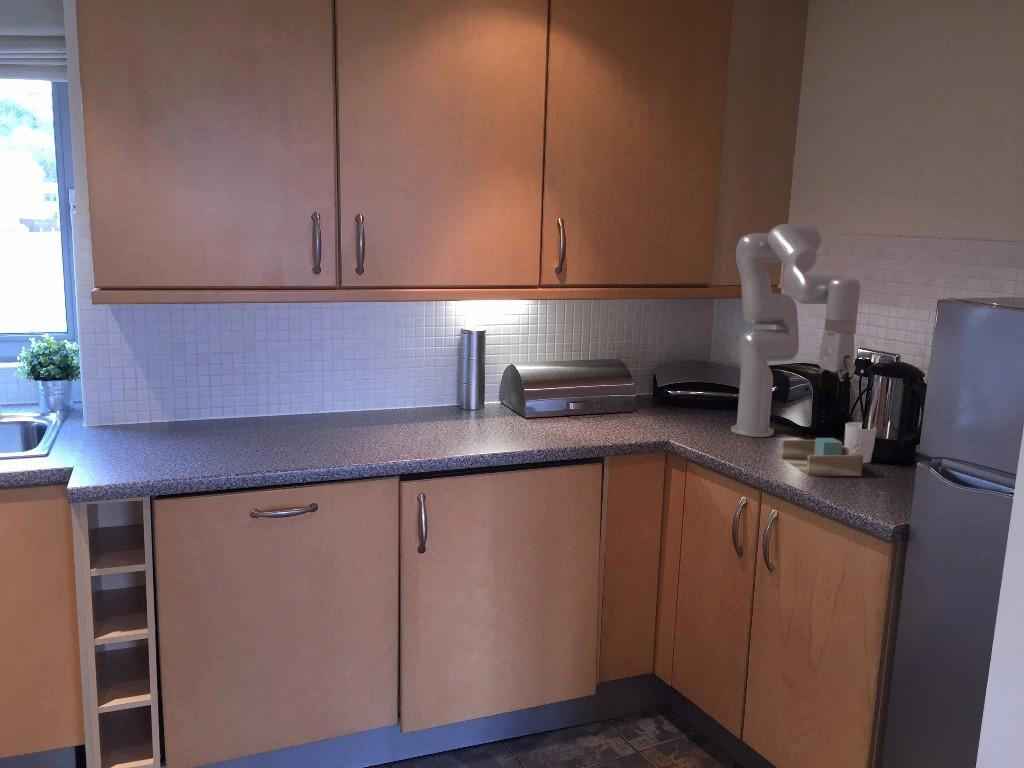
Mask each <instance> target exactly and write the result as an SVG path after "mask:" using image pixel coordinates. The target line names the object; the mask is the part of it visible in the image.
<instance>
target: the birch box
mask: <svg viewBox="0 0 1024 768" xmlns="http://www.w3.org/2000/svg"><path fill="white" fill-rule="evenodd" d="M815 440H816V439H781V449H780V459H782V460H783V461H785V462H786V463H787V464H789V465H790V466H793V467H794V468H795V469H797V470H798V471H800V472H801V473H803V474H805V475H806V476H808V477H810V476H811V477H812V476H814V477H817V476H818V477H827V476H828V477H830V476H831V477H833V476H835V477H836V476H837V477H838V476H845V477H847V476H848V477H849V476H851V477H854V476H860V477H861V476H862V473H863V465H864V463H863V456H862V455H860V454H858V453H856V452H854V451H852V450H850V449H849V448H847V447H845V446H844V445H843V446H842V455H814V450H815Z"/></svg>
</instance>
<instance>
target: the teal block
mask: <svg viewBox="0 0 1024 768" xmlns="http://www.w3.org/2000/svg"><path fill="white" fill-rule="evenodd" d="M814 440H815V450H814V455H842V446H844V445H843V444H844V443H843V442H842V441H840V440H838V439H836V438H835V437H815V439H814Z"/></svg>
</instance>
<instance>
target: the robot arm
mask: <svg viewBox="0 0 1024 768" xmlns="http://www.w3.org/2000/svg"><path fill="white" fill-rule="evenodd" d="M821 244H822V238H821V233H820V231H819V230H818V229H817V228H816V227H815V226H813V225H811V224H804V223H803V224H799V223H781V224H778V225H776V226H774V227H773V228H771V229H770V231H769V233H768V232H767V233H766V232H756V233H755V232H753V233H748V234H745V235H743V237H741V238H740V239H739V241H738V243H737V246H736V251H735V261H736V266H737V269H738V272H739V276H740V281H741V299H742V300H741V301H742V314H743V315H742V316H743V318H744V322H746V324H747V325H754V326H775V328H776V329H771V328H769V329H768V328H766V329H765V328H763V329H761V328H760V329H759V328H758V329H757V328H756V329H751V330H750V329H749V330H748V331H746V332H744V333H743V334H742V335H741V337H740V339H739V355H740V379H739V390H738V391H739V393H738V403H737V404H738V405H737V418H736V424H733V425H731V428H730V431H731V432H732V433H733V434H736V435H739V436H740V435H741V436H744V437H745V436H746V437H751V438H766V437H768V438H769V437H771V436H773V435H774V433H775V430H774V428H771V427H770V421H771V420H770V418H771V408H772V407H771V406H772V395H773V385H774V384H773V383H774V376H773V372H772V370H771V368H770V366H769V365H768V362H786V361H787V362H788V361H792V360H793V359H795V358H796V357H797V356H798V352H799V348H800V337H799V335H800V334H799V320H798V318H799V317H798V308H797V304H796V302H795V301H797V302H798V303H800V304H803V305H826V308H825V309H826V310H825V319H824V320H825V321H824V331H823V335H822V338H821V344H820V348H819V349H820V350H819V358H818V367H819V368H820V369H819V382H818V383H819V384H818V389H819V390H832V386H833V385H832V384H833V375H834V374H832V373H837V375H838V379H839V380H838V381H837V388H836V396H837V398H845V397H846V398H849V397H850V395H851V394H850V393H851V384H852V382H853V377H854V373H855V371H856V368H857V367H856V365H855V363H854V360H855V334H856V331H857V322H858V312H859V303H860V292H861V282H860V281H859V280H858V279H856V278H849V277H848V278H847V277H845V276H844V277H843V276H841V275H826V274H824V275H823V274H806V273H807V272H809V271H811V269H812V268H813V267H814V266H815V265H816V262H817V261H818V260H817V259H818V255H817V252H818V250H819V249H820V247H821ZM762 263H783V266H784V270H783V283H784V286H785V289H786V290H787V292H788V293H789V294H790V295H791V296H790V295H789V294H786V293H773V291H772V286H771V285H772V284H771V283H772V281H771V277H770V275H769V273H768V272H767V270H766V268H765V267H764V266H763V265H762Z"/></svg>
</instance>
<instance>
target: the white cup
mask: <svg viewBox="0 0 1024 768" xmlns="http://www.w3.org/2000/svg"><path fill="white" fill-rule="evenodd" d="M862 423H863V422H857V421H852V422H846V423H845V424H844V425H845V428H844V443H843V444H844V445H843V446H845V447H847V448H849V449H850V450H852V451H854V452H856V453H858V454H860V455H862V456H863V464H868V463H871V461H872V458H873V457H872V456H873V455H872V454H873V451H874V447H875V440H876V436H875V435H877V429H876V428H873V429H862Z"/></svg>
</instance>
